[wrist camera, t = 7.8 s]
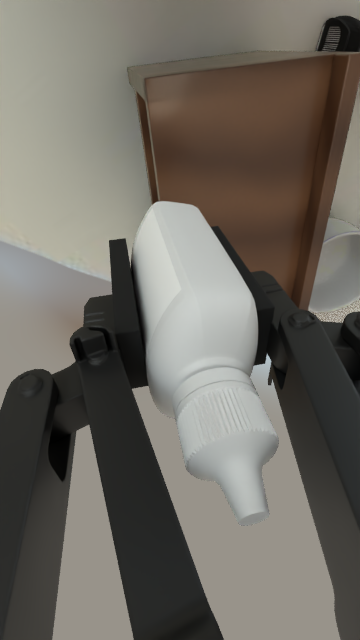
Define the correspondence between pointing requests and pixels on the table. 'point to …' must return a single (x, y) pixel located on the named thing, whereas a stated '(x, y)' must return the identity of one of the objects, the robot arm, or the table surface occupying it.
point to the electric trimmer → (340, 35)
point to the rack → (252, 149)
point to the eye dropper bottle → (203, 353)
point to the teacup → (337, 268)
